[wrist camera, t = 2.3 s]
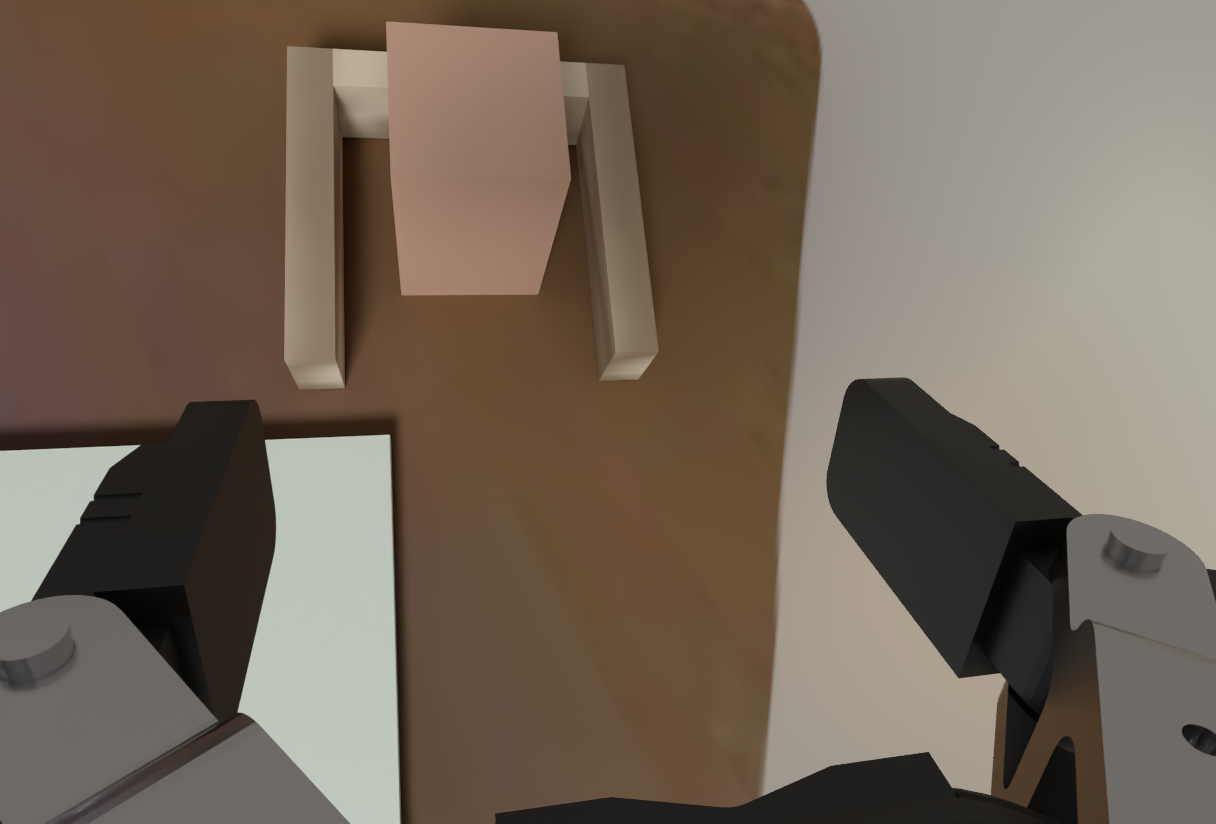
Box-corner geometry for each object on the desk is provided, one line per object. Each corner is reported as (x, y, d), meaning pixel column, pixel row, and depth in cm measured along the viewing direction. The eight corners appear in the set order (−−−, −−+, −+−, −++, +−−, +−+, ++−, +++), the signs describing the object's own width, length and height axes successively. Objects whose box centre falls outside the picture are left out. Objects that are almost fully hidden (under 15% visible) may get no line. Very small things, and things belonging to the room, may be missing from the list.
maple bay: (299, 389, 28) (284, 359, 25) (300, 101, 31) (287, 46, 28) (638, 379, 31) (658, 351, 28) (608, 114, 34) (624, 64, 31)
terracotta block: (401, 295, 30) (390, 174, 22) (397, 174, 31) (386, 21, 24) (538, 294, 31) (571, 178, 24) (529, 177, 32) (557, 32, 25)
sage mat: (-147, 983, 22) (-174, 998, 21) (-80, 462, 25) (-100, 455, 24) (403, 896, 25) (401, 905, 24) (391, 442, 28) (389, 434, 27)
